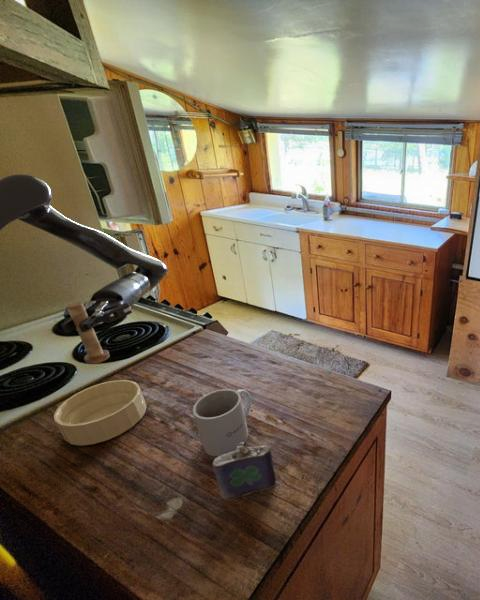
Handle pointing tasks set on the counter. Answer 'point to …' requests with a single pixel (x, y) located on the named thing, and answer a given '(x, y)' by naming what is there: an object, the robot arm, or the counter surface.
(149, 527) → the counter surface
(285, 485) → the counter surface
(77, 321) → the stick
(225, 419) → the mug
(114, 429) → the bowl
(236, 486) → the flask
